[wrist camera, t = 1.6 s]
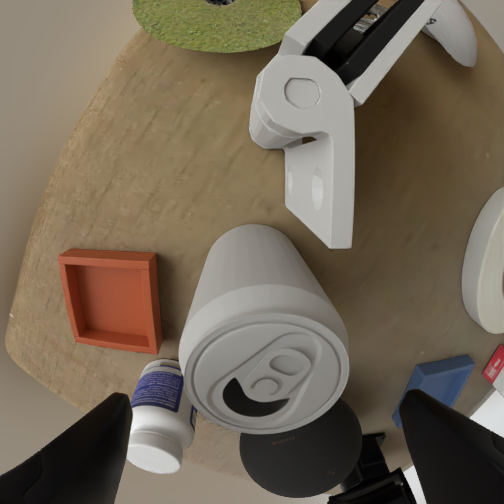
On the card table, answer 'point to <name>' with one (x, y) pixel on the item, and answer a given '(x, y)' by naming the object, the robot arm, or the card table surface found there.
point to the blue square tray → (440, 380)
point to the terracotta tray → (113, 298)
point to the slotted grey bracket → (366, 23)
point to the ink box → (496, 370)
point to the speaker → (305, 454)
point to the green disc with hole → (218, 22)
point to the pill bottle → (161, 418)
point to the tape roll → (486, 267)
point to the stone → (453, 32)
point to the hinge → (328, 103)
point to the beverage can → (262, 337)
